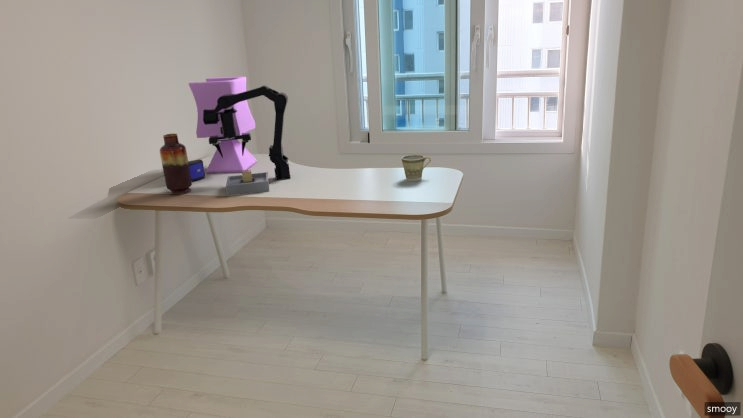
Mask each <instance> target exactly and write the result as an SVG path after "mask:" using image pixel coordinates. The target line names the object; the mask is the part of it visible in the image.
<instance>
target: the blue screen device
mask: <svg viewBox="0 0 743 418" xmlns="http://www.w3.org/2000/svg"><path fill="white" fill-rule="evenodd" d="M188 163H189V169H190V174H191V180H192V182H196V181H199V180H202V179H205V177H206V172H205V165H204V161H203V160H202V159H195V160H188Z"/></svg>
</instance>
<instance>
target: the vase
mask: <svg viewBox="0 0 743 418" xmlns="http://www.w3.org/2000/svg"><path fill="white" fill-rule="evenodd" d="M162 137H163V143H164V144H163V145H162V146H161V147H160V148H159V154H160V155H159V156H160V160H161V165H162V171H163V177H164V182H165V185H166V189H167V190H168V191H169V194H170V195H174V196H178V195H179V196H180V195H184V194H188V193H190V192H191V191H192V188H190V187H191V186H192V185H193V181H192V180H191V174H190V169H189V163H188V161H189V158H188V153H187V148H186V145H184V144H182V143H181V142H179V138H178V137H179V136H178V133H166V134H163V135H162Z"/></svg>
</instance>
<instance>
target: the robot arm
mask: <svg viewBox="0 0 743 418" xmlns="http://www.w3.org/2000/svg"><path fill="white" fill-rule="evenodd" d="M261 96H264V97H265V98H267V99H268V100H270V101H272V102H273V104H274V105H273V107H274V112H275V117H274V118H275V119H274V131H273V142H272V143H273V145H272V144H271V145H270V146H269V148H268V151H269V152H268V156H267V157H269V161H270V162H272V163H273V164H274V176H275V177H274V178H276V180H277V181H278V180H288V179H291V171H290V164H289V163H288V162H289V158H288V156H286V155H285V154H284V147H283V135H284V134H283V132H284V131H283V130H284V120H285V112H286V109H287V105H288V103H289V102H288V100H289V97H288V95H287V94H286V92H285V93H284V92H279V91H278V90H275V89H272V88H270V87H269V86H267V85H264V84H263V85H262V86H259V87H255V88H252V89H248V90H246V91H245V92H241V93H238V94H226V95H222V96H221V97H219V98H218V100H217V106H216V108H215V109H210V110H208V109H204V110H203V122H204V124H205V125H208V124H218V122H219V121H220V117H221V124H222V127H220V132H221V134H223V137H218V135H217V136H210V137H208V144H209V145H212V146H213V147H215V148H216V150H217V149H218V151H219V153H220V155H221V156H222V158H223V153H222V149H221V146H220V142H221V141H227V140H241V144H242V156H243V154H244V148H246V146H247V145H246V144H247V143H249V141H251V140H252V135H251V132H249V131H247V132H246V133H242V135H237V134H236V129H235V124H234V117H233V113H236V112H237V110H236V109H234V108H233V107H232V108H231V109H227V108H229V107H231V106H233V105H234V104H236V103H238V102H241V101H245V100H247V101H248V100H251V99H254V98H258V97H261ZM222 109H225V110H224V112H219V111H221V110H222ZM219 114H220V115H219ZM236 135H237V136H236ZM226 138H227V139H226Z"/></svg>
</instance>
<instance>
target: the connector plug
mask: <svg viewBox="0 0 743 418" xmlns="http://www.w3.org/2000/svg"><path fill="white" fill-rule="evenodd" d="M252 174H253V173H252V169H248V170H244V171H242V173H241V175H242V177H243V183H249V182H253V181H252Z"/></svg>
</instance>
